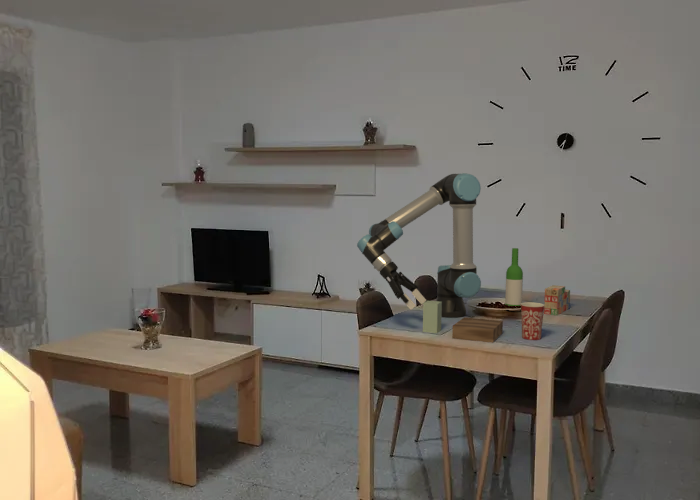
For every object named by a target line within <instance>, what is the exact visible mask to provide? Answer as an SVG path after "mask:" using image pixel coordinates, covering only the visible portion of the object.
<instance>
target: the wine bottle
mask: <svg viewBox="0 0 700 500" xmlns="http://www.w3.org/2000/svg"><path fill="white" fill-rule="evenodd" d="M523 275H524V272H523V269H522V267H521V266H519V248H516V247H512V248H511V264H510V266H509V267H508V268H507V269H506V272H505V295H504V296H505V297H504V298H505V300H504V306H505V305H508V306H520V305H521V303H523V285H524V284H523V280H524V276H523Z"/></svg>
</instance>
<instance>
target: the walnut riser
mask: <svg viewBox="0 0 700 500" xmlns="http://www.w3.org/2000/svg"><path fill="white" fill-rule="evenodd" d="M503 328H504V321H503V320H497V319H495V320H494V319H486V318H473V317H465V316H463V318H461V319H460V320H458V321H457V322H455V324H453V325H452V331H451V333H452V335H451V339H452V340H453V339H454V340H456V339H457V340H462V341H463V340H464V341H474V342H482V343H483V342H484V343H492V344H494V342H495V341H496V340H497V339H498V338H499V337H500V336H501V335H502V334H503V333H504V332H503Z"/></svg>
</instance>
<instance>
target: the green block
mask: <svg viewBox="0 0 700 500" xmlns="http://www.w3.org/2000/svg"><path fill="white" fill-rule="evenodd" d="M422 305H423V306H422V333H431V334H438V333H439V332H440V333H441V331H442V316H441V315H442V302H439V301H436V300H426V301H425V302H424V303H423V304H422Z"/></svg>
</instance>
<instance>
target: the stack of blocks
mask: <svg viewBox="0 0 700 500" xmlns="http://www.w3.org/2000/svg"><path fill="white" fill-rule="evenodd" d="M543 304H544V305H545V306H544V313H543V315H544V314H545V315H549V316H550V315H551V316H559V315H560V314H563V313H564V312H565V311H568V310H569V309H570V308H571V289H566V286H565V285H554V284H552V285H550V286H548V287H545V288H544V303H543Z"/></svg>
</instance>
